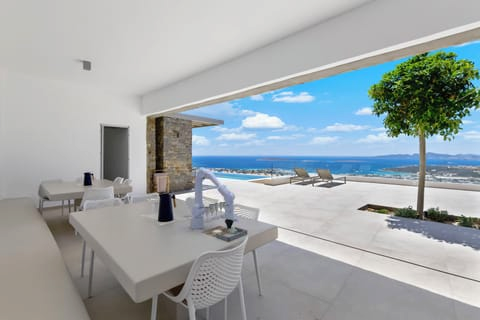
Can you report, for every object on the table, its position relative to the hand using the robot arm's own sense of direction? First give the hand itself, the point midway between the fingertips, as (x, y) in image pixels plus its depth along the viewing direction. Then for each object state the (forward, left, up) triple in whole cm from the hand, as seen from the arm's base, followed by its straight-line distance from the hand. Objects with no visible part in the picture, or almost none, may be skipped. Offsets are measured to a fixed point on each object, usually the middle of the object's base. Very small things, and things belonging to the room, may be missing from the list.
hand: (229, 230), depth 157 cm
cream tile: (-2, -9, -1) cm, 9 cm away
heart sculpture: (-46, +6, -2) cm, 47 cm away
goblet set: (-31, +18, -2) cm, 36 cm away
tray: (+7, -5, -2) cm, 9 cm away
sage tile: (+3, 0, -1) cm, 3 cm away
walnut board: (-6, -5, -2) cm, 8 cm away
